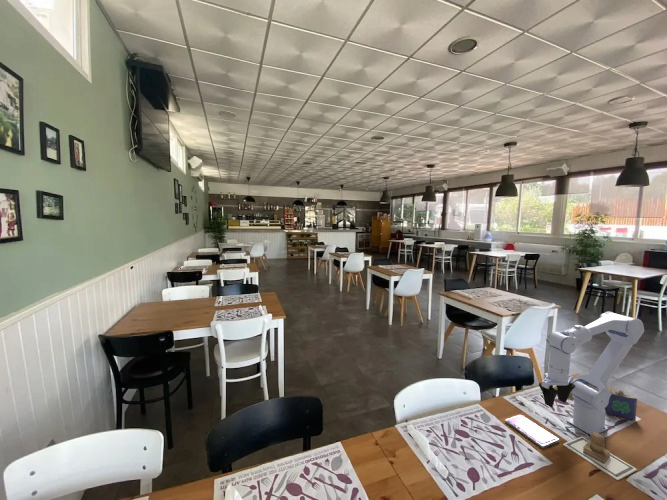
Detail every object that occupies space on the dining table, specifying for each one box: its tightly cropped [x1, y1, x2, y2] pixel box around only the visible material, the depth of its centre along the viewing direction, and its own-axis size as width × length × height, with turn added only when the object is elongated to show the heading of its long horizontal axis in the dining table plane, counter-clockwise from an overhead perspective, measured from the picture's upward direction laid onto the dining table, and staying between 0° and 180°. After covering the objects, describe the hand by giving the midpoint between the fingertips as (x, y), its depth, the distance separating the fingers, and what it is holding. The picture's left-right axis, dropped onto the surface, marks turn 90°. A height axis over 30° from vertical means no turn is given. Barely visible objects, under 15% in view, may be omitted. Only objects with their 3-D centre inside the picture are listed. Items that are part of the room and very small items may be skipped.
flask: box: [605, 389, 638, 422], centre depth 106 cm, size 9×3×11 cm, turn 61°
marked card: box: [562, 436, 638, 481], centre depth 87 cm, size 10×14×1 cm
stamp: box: [583, 432, 611, 464], centre depth 88 cm, size 5×5×6 cm
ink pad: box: [504, 414, 560, 449], centre depth 98 cm, size 8×13×1 cm, turn 20°
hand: (555, 403), depth 99 cm, fingers open, 7 cm apart
